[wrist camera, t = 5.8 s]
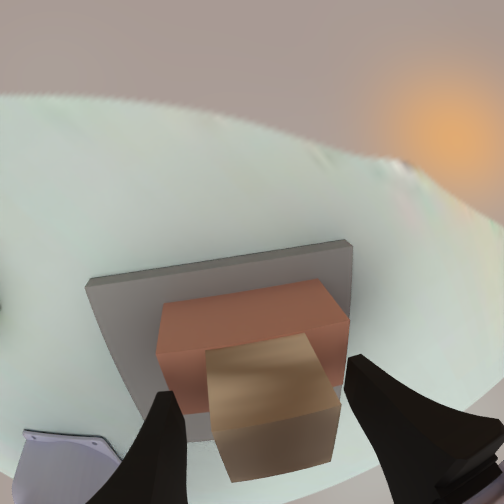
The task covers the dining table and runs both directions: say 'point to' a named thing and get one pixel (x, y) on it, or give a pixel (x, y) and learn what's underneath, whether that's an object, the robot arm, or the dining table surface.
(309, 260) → the building plate
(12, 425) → the dining table surface
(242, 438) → the beech cube
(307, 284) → the terracotta brick
